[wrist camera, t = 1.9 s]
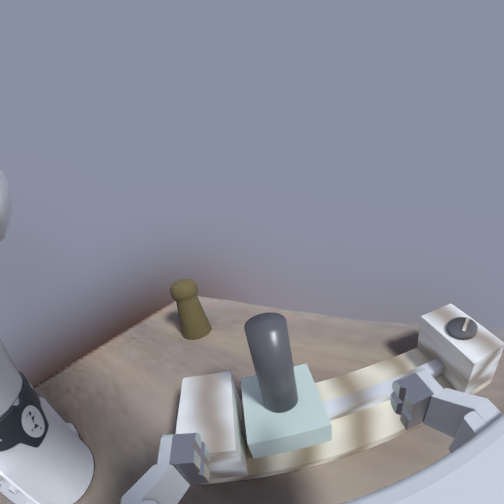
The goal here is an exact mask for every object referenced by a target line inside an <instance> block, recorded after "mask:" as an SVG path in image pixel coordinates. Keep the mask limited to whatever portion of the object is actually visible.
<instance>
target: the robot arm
mask: <svg viewBox="0 0 504 504" xmlns="http://www.w3.org/2000/svg"><path fill="white" fill-rule="evenodd" d="M11 212H12V200H11V192H10V188H9V184H8V181H7V179H6V177H5V175H4V173H3V171H2V170H1V169H0V242H1V241H2V240H3V239H4V238H5V235H6V233H7V230H8V227H9V224H10V219H11ZM392 389H393V390H394V391H393V392H392V394H391V397H390V401H391V406H392V408H393V410H394V412H395V413H396V414H399V415H401V417H400V421H401V423H402V424H403V426H404V427H405V429H406V430H408V429H410V428H412V427H414V426H417V425H419V424H421V423H423V424H426V425H428V426H430V427H432V428H434V429H436V430H438V431H440V432H443V433H445V434H447V435H449V436H451V437H454V439H453V441H452V443H451V445H450V447H449V450H450V452H451V453H450V454H448V455H446V456H445V457H443V458H441V459H440V460H438V461H436V462H434V463H433V464H431V465H429V466H427V467H425V468H424V469H422V470H420V471H418V472H416V473H414V474H412V475H410V476H408V477H406V478H404V479H402V480H400V481H398V482H395V483H393V484H391V485H389V486H386V487H384V488H382V489H379V490H377V491H374V492H372V493H369V494H367V495H364V496H361V497H358V498H356V499H353V500H350V501H347V502H344V503H341V504H504V414H502V413H501V412H500V411H499V410H498V409H497V408H496V407H495V406H494V405H493V404H492V403H491V401H490V400H489V399H487V398H483V397H479V396H475V395H471V394H467V393H463V392H460V391H456V390H452V389H449V388H445V389H443V388H442V387H441V386H440V384H439V383H438V382H437V381H436V380H435V379H434V378H433V377H432V376H431V375H430V373H429V372H428V371H427V370H426V369H424V368H422V369H420V370H418V371H416V372H414V373H411V374H409V375H407V376H405V377H402V378H400V379H398V380H396V381H394V382H393V383H392ZM208 463H209V452H208V448H207V446H206V444H205V443H204V442H202V441H201V436H200V434H199V433H185V434H168V435H163V436H162V437H161V441H160V447H159V453H158V459H157V465H153V466H152V467H151V468H150V469H149V470H148V471H147V472H146V473H145V474H144V475H143V476H142V477H141V478H140V479H139V480H138V481H137V482H136V483H135V484H134V485H133V486H132V487H131V488H130V489H129V490H128V491H127V492H126V493H125V494H124V495H123V496H122V498H121V503H120V504H178V503H179V501H180V500H181V498H182V497H183V495H184V494H185V492H186V491H187V490H188V488H189V487H190V484H202V483H209V469H208V468H207V465H208ZM93 472H94V461H93V456H92V453H91V451H90V449H89V448H88V447H87V445H86V444H85V443H84V442H83V441H82V440H81V439H80V438H79V435H78V431H77V429H76V428H75V427H74V426H73V424H71V423H65V422H64V421H63V419H62V418H61V417H60V416H59V415H58V414H57V413H56V412H55V411H54V409H53V408H52V407H51V406H50V405H49V404H48V403H47V401H46V400H45V399H44V398H42V397H38V395H37V394H36V392H35V391H34V388H33V387H32V385H31V384H30V382H29V381H28V380H27V379H26V378H25V376H24V375H23V374H22V373H21V372H19V371H18V370H17V368H16V367H15V365H14V364H13V362H12V360H11V358H10V356H9V354H8V353H7V351H6V349H5V347H4V345H3V343H2V341H1V339H0V492H1V493H2V494H3V495H5V496H6V497H7V498H8V499H9V500H11V501H12V502H13V503H14V504H73V503H75V502H76V501H77V500H78V499H79V498H80V497H81V496H82V495H83V494H84V493H85V491H86V490H87V488H88V487H89V485H90V482H91V480H92V476H93Z"/></svg>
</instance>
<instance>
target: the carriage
mask: <svg viewBox="0 0 504 504" xmlns="http://www.w3.org/2000/svg"><path fill="white" fill-rule="evenodd" d="M244 329H245V333H246V337H247V341H248V345H249V348H250V352H251V356H252V360H253V364H254V368H255V372H256V375H255V376H250V377H245V378H240V379H241V389H242V399H243V408H244V417H245V427H246V435H247V444H248V446H249V449H250V451H251V454H252V456H253V458H260V457H266V456H271V455H276V454H281V453H285V452H290V451H294V450H298V449H302V448H306V447H310V446H314V445H318V444H321V443H325V442H328V441H331V440H332V424H331V422H330V419H329V417H328V414H327V412H326V409H325V407H324V405H323V402H322V400H321V397H320V395H319V392H318V390H317V388H316V385H315V383H314V380H313V378H312V376H311V373H310V371H309V368H308V366H307V364H303V365H299V366H295V367H293V361H292V355H291V349H290V342H289V336H288V330H287V324H286V319H285V317H284V316H283V315H281V314H278V313H263V314H259V315H256V316H254V317H252V318H250V319H249V320H248V321H247V322H246V323H245V326H244Z"/></svg>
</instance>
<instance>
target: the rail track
mask: <svg viewBox="0 0 504 504" xmlns="http://www.w3.org/2000/svg"><path fill="white" fill-rule="evenodd" d="M503 348H504V342H502V341H501V340H500V339H498V338H497V337H496V336H495V335H493V334H492V333H491V332H489V331H488V330H487V329H485V328H484V327H482V326H481V325H480V324H478V323H477V322H476V321H475V320H473V319H472V318H470V317H469V316H468V315H466V314H465V313H464V312H462V311H461V310H459V309H458V308H457V307H455V306H454V305H452V304H449V305H447V306H444V307H442V308H440V309H437V310H435V311H433V312H430V313H428V314H425V315H423V316H421V319H420V328H419V336H418V343H417V348H415V349H412V350H410V351H407V352H405V353H403V354H400V355H398V356H395V357H393V358H390V359H387V360H385V361H382V362H379V363H377V364H374V365H371V366H368V367H366V368H363V369H360V370H357V371H354V372H351V373H348V374H344V375H341V376H338V377H335V378H332V379H328V380H325V381H321V382H318V383H315V385H316V388H317V390H318V392H319V395H320V397H321V400H322V402H323V405H324V407H325V409H326V412H327V414H328V417H329V419H330V422H331V424H332V440H331V441H328V442H325V443H321V444H318V445H314V446H310V447H306V448H302V449H298V450H294V451H290V452H285V453H281V454H276V455H271V456H266V457H260V458H253V456H252V454H251V451H250V449H249V446H248V444H247V435H246V427H245V417H244V408H243V400H240V398H239V395H238V392H237V389H236V386H235V383H234V380H233V377H232V374H231V371H225V372H219V373H213V374H207V375H201V376H194V377H187V378H183V382H182V389H181V396H180V403H179V411H178V418H177V426H176V434H185V433H199V434H200V436H201V441H202V442H204V443H205V444H206V446H207V448H208V452H209V463H208V465H207V468H208V469H209V483H202V484H212V483H224V482H234V481H242V480H249V479H256V478H262V477H268V476H273V475H278V474H283V473H288V472H293V471H297V470H301V469H305V468H309V467H313V466H317V465H320V464H324V463H327V462H331V461H334V460H337V459H340V458H343V457H346V456H349V455H352V454H355V453H358V452H361V451H363V450H366V449H369V448H371V447H374V446H376V445H379V444H381V443H384V442H386V441H389V440H391V439H393V438H395V437H398V436H400V435H402V434H404V433H406V432H408V431H411V430H413V429H415V428H417V427H419V426H421V425H423V423H421V424H419V425H417V426H414V427H412V428H410V429H408V430H406V429H405V427H404V426H403V424H402V423H401V421H400V417H401V415H399V414H396V413H395V412H394V410H393V408H392V406H391V401H390V397H391V394H392V392H393V391H394V390H393V389H392V383H393V382H394V381H396V380H398V379H400V378H402V377H405V376H407V375H409V374H411V373H414V372H416V371H418V370H420V369H422V368H424V369H426V370H427V371H428V372H429V373H430V375H431V376H432V377H433V378H434V379H435V380H436V381H437V382H438V383H439V384H440V386H441V387H442V388H443V389H445V388H449V389H452V390H456V391H460V392H463V393H467V394H471V395H474V394H475V393H477V392H478V391H480V390H481V389H483V388H484V387H485V386H487V385H488V384H490V383H491V380H492V378H493V375H494V373H495V370H496V368H497V365H498V362H499V359H500V356H501V354H502V351H503Z"/></svg>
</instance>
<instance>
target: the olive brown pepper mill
mask: <svg viewBox="0 0 504 504" xmlns="http://www.w3.org/2000/svg"><path fill="white" fill-rule="evenodd" d="M170 292H171V296H172V298H173V299H174V300H175V301H176V303H177V308H178V313H179V318H180V323H181V328H182V333H183V337H184V338H186V339H190V340H194V339H199V338H202V337H204V336H206V335H207V334H209V332H210V331H211V329H212V328H211V325H210V323H209V321H208V319H207V317H206V315H205V312H204V310H203V308H202V306H201V304H200V302H199V299H198V297H197V292H198V289H197V285H196V283H195V282H194V281H193V280H191V279H182V280H179V281H177V282H175V283H174V284H172V286H171V288H170Z"/></svg>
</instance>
